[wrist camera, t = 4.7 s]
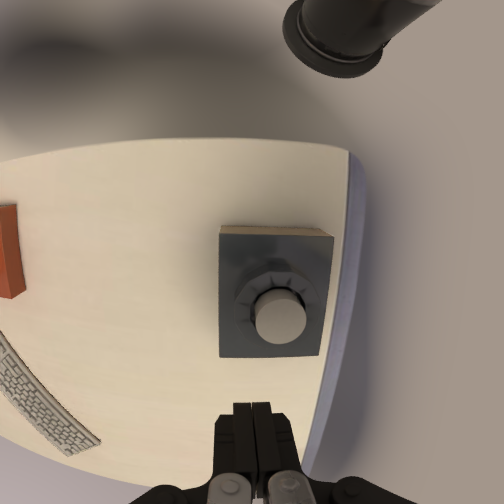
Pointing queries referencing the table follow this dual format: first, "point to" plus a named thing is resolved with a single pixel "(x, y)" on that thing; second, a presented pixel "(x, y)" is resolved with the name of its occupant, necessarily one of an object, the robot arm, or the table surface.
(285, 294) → the grey cylindrical knob
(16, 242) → the button base
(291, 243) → the push button box
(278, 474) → the robot arm
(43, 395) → the keyboard
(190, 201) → the table surface
